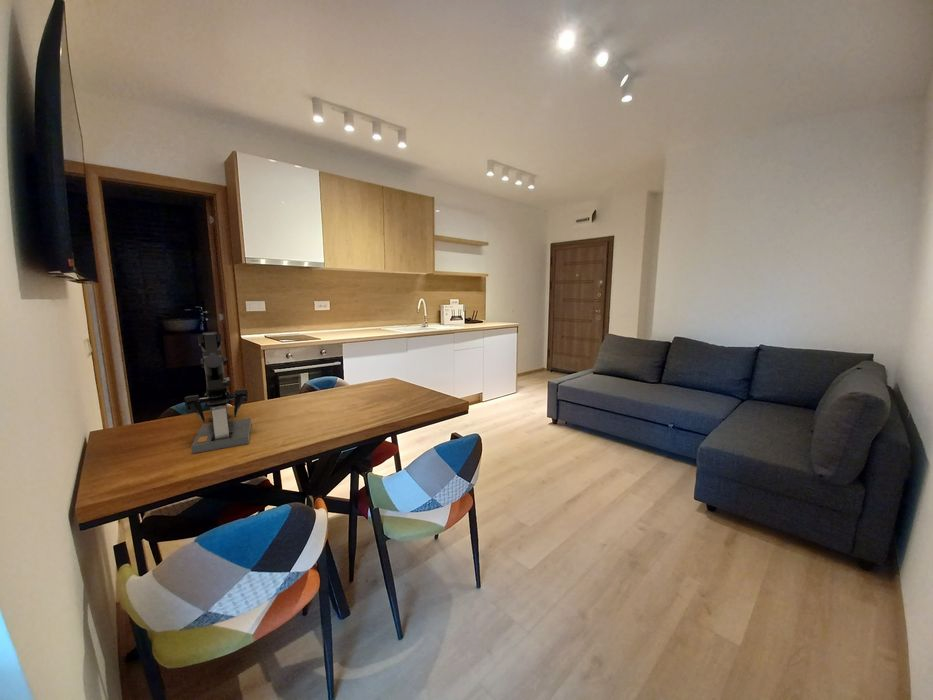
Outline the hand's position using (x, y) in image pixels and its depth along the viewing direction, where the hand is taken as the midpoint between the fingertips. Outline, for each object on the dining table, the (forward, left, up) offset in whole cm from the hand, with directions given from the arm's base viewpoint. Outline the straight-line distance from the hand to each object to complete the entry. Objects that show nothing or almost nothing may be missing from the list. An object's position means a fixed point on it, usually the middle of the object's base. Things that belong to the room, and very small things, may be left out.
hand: (220, 419), depth 127 cm
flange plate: (-3, 0, -8) cm, 8 cm away
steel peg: (+3, 0, -8) cm, 8 cm away
